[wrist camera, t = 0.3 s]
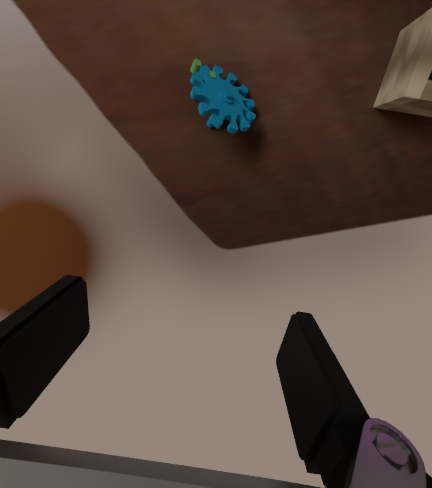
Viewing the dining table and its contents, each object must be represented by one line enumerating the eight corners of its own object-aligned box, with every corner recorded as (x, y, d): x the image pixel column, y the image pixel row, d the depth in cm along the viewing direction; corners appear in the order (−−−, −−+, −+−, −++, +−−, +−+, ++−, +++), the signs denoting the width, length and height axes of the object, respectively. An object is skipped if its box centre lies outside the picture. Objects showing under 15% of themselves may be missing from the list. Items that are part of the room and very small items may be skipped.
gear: (269, 113, 32) (228, 137, 27) (247, 139, 37) (209, 163, 32) (223, 47, 30) (171, 60, 25) (206, 84, 35) (160, 100, 31)
